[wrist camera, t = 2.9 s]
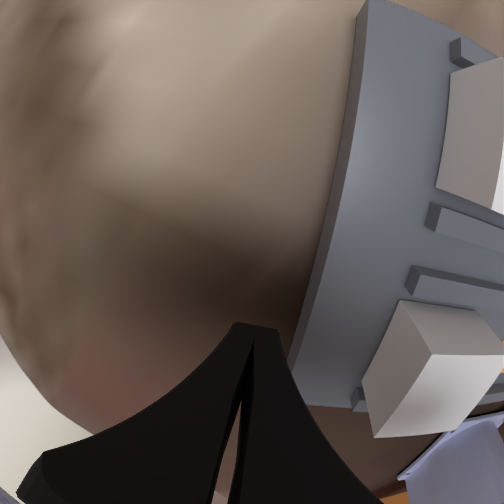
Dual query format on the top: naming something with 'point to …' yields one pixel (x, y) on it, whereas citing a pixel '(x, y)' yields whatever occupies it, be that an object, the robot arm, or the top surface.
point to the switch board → (394, 210)
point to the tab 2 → (475, 136)
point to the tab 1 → (430, 370)
